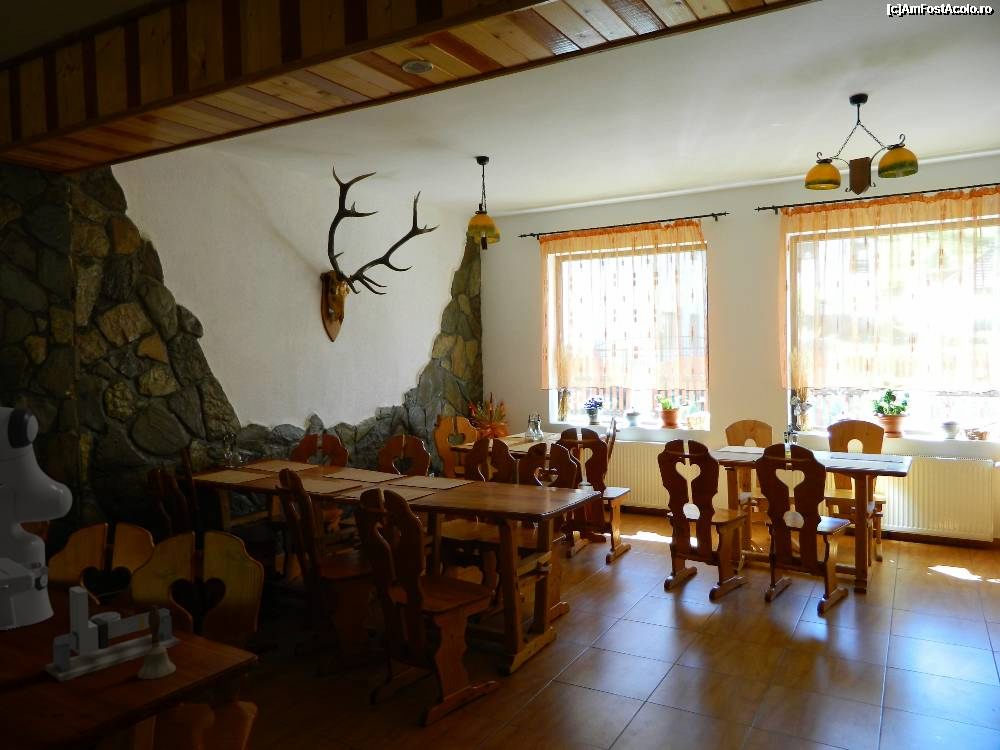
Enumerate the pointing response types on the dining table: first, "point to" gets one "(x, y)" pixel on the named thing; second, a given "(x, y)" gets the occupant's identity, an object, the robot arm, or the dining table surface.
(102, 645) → the dark grey rubber pad
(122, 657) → the base board
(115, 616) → the mechanical component
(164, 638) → the grey clamp fixture
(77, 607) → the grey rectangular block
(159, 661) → the hand bell
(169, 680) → the dining table surface
